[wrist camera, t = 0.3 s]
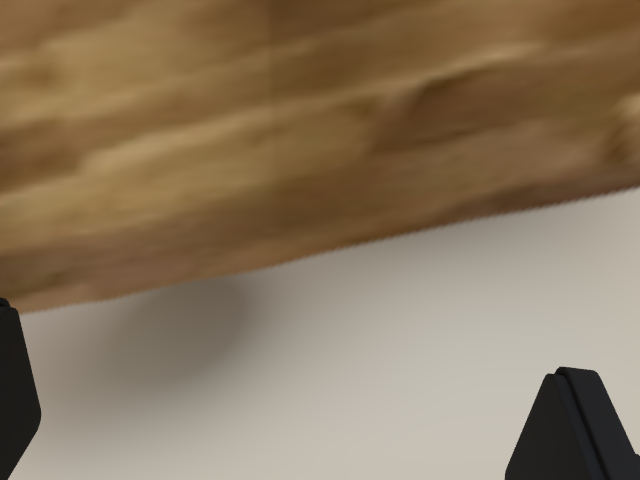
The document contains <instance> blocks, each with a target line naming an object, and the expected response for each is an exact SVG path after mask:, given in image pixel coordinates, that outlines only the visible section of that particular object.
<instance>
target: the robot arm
mask: <svg viewBox="0 0 640 480" xmlns="http://www.w3.org/2000/svg"><path fill="white" fill-rule="evenodd" d="M40 420H41V408H40V404H39V400H38V395H37V391H36V387H35V383H34V379H33V374H32V370H31V365H30V361H29V357H28V353H27V348H26V344H25V340H24V336H23V331H22V327H21V323H20V318H19V314H18V311H17V310H16V309H15V308H12V307H10V304H9V302H8V301H7V300H6V299H4V298H0V480H8V478H9V476H10V475H11V473H12V471H13V470H14V468H15V467H16V465H17V463H18V462H19V459H20V458H21V457H22V455H23V453H24V452H25V450H26V448H27V447H28V445H29V443H30V442H31V440H32V438H33V437H34V435H35V434H36V432H37V430H38V427H39V424H40ZM505 480H640V456H639V455H638V454H635V452H634V450H633V448H632V446H631V443H630V441H629V439H628V437H627V435H626V432H625V430H624V428H623V426H622V424H621V422H620V419H619V418H618V415H617V413H616V411H615V409H614V406H613V404H612V402H611V400H610V398H609V396H608V393H607V391H606V389H605V387H604V385H603V382H602V380H601V378H600V376H599V375H598V373H597V372H595V371H593V370H586V369H585V370H584V369H577V368H569V367H559V368H558V369H557V370H556V372H555V374H547V375H546V376H545V378H544V380H543V382H542V385H541V387H540V389H539V392H538V394H537V397H536V399H535V401H534V404H533V406H532V409H531V411H530V413H529V416H528V418H527V421H526V423H525V426H524V428H523V430H522V433H521V435H520V438H519V440H518V442H517V445H516V447H515V449H514V452H513V454H512V457H511V459H510V461H509V464H508V466H507V469H506V473H505Z"/></svg>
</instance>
